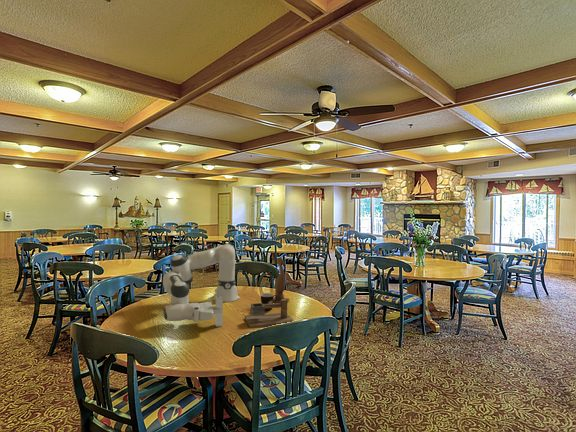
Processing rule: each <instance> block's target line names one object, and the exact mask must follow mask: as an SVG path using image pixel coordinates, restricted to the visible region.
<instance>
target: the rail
mask: <svg viewBox="0 0 576 432" xmlns="http://www.w3.org/2000/svg"><path fill="white" fill-rule="evenodd" d="M215 306H216V310H218V309H221V313H217V314H214V315H215V317H214V319H215V320H214V321H215V322H214V323H215V324H214V325H215V327H219V328H220V327H223V321H224V320H223V315H224V314H223V313H224V308H223V307H224V302H223V297H222V296H216V301H215Z"/></svg>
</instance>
